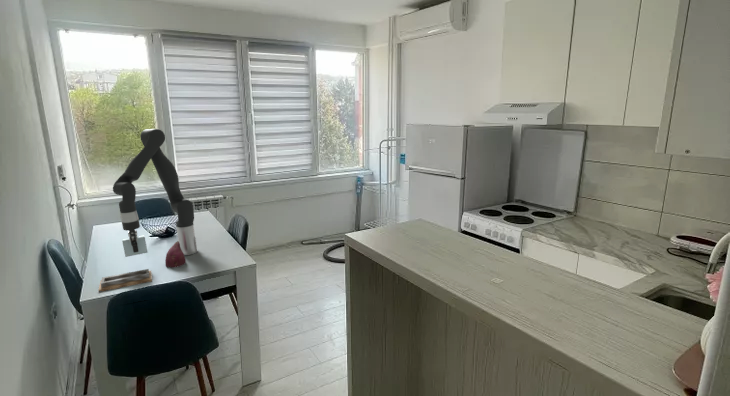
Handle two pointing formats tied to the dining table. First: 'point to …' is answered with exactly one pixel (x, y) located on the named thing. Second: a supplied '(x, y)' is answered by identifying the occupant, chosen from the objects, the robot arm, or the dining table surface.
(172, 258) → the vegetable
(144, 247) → the door panel
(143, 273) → the track board
